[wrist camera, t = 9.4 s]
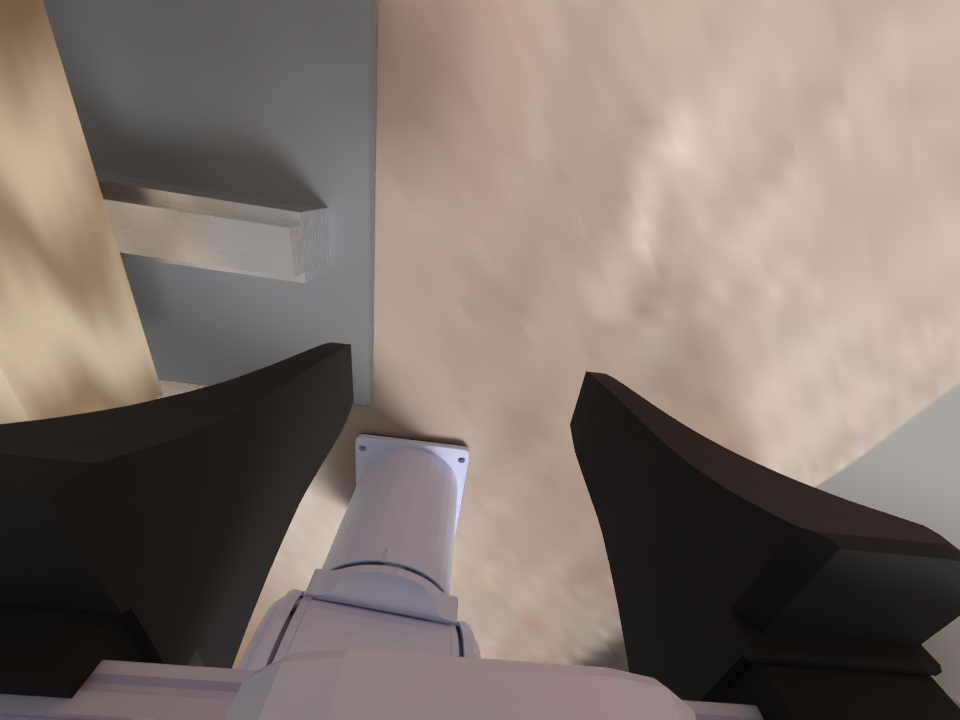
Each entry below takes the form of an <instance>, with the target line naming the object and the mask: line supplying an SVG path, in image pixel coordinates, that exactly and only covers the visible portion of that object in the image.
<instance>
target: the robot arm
mask: <svg viewBox="0 0 960 720" xmlns="http://www.w3.org/2000/svg"><path fill="white" fill-rule="evenodd" d="M353 402H354V395H353V375H352V354H351V344H342V343H333V342H329V343H325V344H322V345H319V346H317V347H314V348H312V349H309V350H307V351H304V352H302V353H299V354H297V355H294V356H292V357H289V358H287V359H285V360H282V361H280V362H277V363H275V364H272V365H270V366H267V367H264V368H261V369H259V370H256V371H253V372H251V373H248V374H245V375H242V376H240V377H237V378H234V379H231V380H228V381H225V382H222V383H218V384H215V385H212V386H208V387H204V388H201V389H197V390H194V391H190V392H186V393H182V394H178V395H174V396H169V397H165V398H160V399H156V400H151V401H147V402H142V403H138V404H133V405H128V406H123V407H117V408H112V409H106V410H100V411H95V412H88V413H82V414H75V415H69V416H63V417H55V418H48V419H41V420H32V421H23V422H15V423H6V424H0V720H960V697H957V698H953V699H951V698H950V697H949V696H948V695H947V694H946V693H945V692H944V690H943V689H942V688H941V687H940V686H939V685H938V684H937V683H936V682H935V680H934V679H933V678H932V677H931V676H930V675H933V676H936V675H938V674H939V673H941V672H942V671H941V667H940V664H939V663H938V662H937V661H936V660H935V659H934V658H933V657H932V656H931V655H930V654H929V653H928V652H927V651H926V649H924V647H923V646H922V645H921V644H922V643H923V642H925V641H926V640H927V639H929V638H930V637H932V636H933V635H934V634H936V633H937V632H938V631H940V630H941V629H942V628H944V627H945V626H946V625H948V624H949V623H950V622H952V621H953V620H954V619H956V618H957V617H958V616H960V550H959V549H957V548H956V547H955V546H953V545H952V544H951V543H950V542H948V541H947V540H946V539H944V538H943V537H942V536H941V535H939V534H938V533H936V532H934V531H932V530H931V529H929V528H927V527H925V526H923V525H920V524H917V523H914V522H911V521H908V520H905V519H902V518H899V517H896V516H893V515H890V514H887V513H884V512H881V511H878V510H875V509H872V508H869V507H866V506H863V505H860V504H857V503H854V502H851V501H848V500H846V499H843V498H840V497H837V496H835V495H832V494H829V493H827V492H824V491H822V490H819V489H817V488H814V487H811V486H809V485H806V484H804V483H801V482H799V481H796V480H794V479H792V478H789V477H787V476H784V475H782V474H780V473H777V472H775V471H773V470H771V469H768V468H766V467H764V466H762V465H760V464H757V463H755V462H753V461H751V460H749V459H746V458H744V457H742V456H740V455H738V454H736V453H734V452H732V451H730V450H728V449H726V448H724V447H723V446H721V445H719V444H717V443H715V442H713V441H711V440H709V439H708V438H706V437H704V436H702V435H700V434H699V433H697V432H695V431H693V430H692V429H690V428H689V427H687V426H685V425H684V424H682V423H680V422H679V421H677V420H676V419H674V418H672V417H671V416H669V415H668V414H666V413H665V412H663V411H662V410H660V409H659V408H657V407H656V406H654V405H653V404H651V403H650V402H648V401H647V400H645V399H644V398H643V397H641V396H640V395H638V394H637V393H635V392H634V391H632V390H631V389H629V388H628V387H627V386H625V385H624V384H622V383H621V382H619V381H618V380H616V379H614V378H613V377H611V376H609V375H607V374H603V373H594V372H586V374H585V377H584V380H583V384H582V387H581V390H580V394H579V397H578V400H577V404H576V407H575V410H574V414H573V417H572V420H571V424H570V427H571V432H572V438H573V444H574V449H575V453H576V456H577V459H578V462H579V465H580V468H581V471H582V474H583V477H584V480H585V483H586V485H587V488H588V491H589V494H590V497H591V500H592V503H593V506H594V508H595V511H596V514H597V517H598V520H599V524H600V527H601V530H602V534H603V538H604V543H605V547H606V551H607V556H608V560H609V564H610V569H611V574H612V579H613V584H614V588H615V593H616V598H617V603H618V608H619V614H620V620H621V625H622V631H623V637H624V642H625V648H626V654H627V660H628V667H629V672H624V671H620V670H616V669H611V668H604V667H590V666H577V665H563V664H549V663H536V662H522V661H509V660H495V659H481V656H480V650H479V647H478V643H477V641H476V639H475V637H474V636H473V632H472V630H471V628H470V626H469V624H467V623H466V622H462V621H457V608H458V598H457V597H455V596H451V595H449V594H450V582H451V569H452V557H453V544H454V536H455V534H456V528H457V522H458V517H459V511H460V505H461V500H462V494H463V488H464V483H465V477H466V471H467V466H468V460H469V449H468V448H467V447H465V446H458V445H449V444H441V443H433V442H425V441H416V440H408V439H400V438H392V437H383V436H375V435H367V434H360V435H358V436H357V438H356V441H355V456H356V488H355V491H354V493H353V495H352V498H351V500H350V503H349V505H348V507H347V510H346V512H345V515H344V517H343V519H342V522H341V524H340V527H339V529H338V532H337V534H336V536H335V539H334V541H333V544H332V546H331V548H330V551H329V553H328V556H327V558H326V560H325V563H324V565H323V568H322V569H316V570H315V571H314V574H313V576H312V578H311V581H310V583H309V585H308V588H307V590H306V592H305V591H301V590H297V589H292V590H291V591H289V592H288V593H287V594H286V595H285V596H283V597H282V598H280V599H279V600H277V601H276V602H275V603H274V604H273V605H272V606H271V607H270V608H269V610H268V611H267V613H266V614H265V616H264V617H263V619H262V621H261V622H260V624H259V626H258V628H257V629H256V631H255V633H254V635H253V637H252V639H251V641H250V643H249V645H248V647H247V649H246V651H245V653H244V655H243V657H242V659H241V661H240V663H239V665H238V668H237V669H232V666H233V663H234V661H235V658H236V655H237V653H238V650H239V647H240V645H241V642H242V639H243V636H244V634H245V631H246V628H247V626H248V623H249V621H250V618H251V616H252V613H253V611H254V608H255V606H256V603H257V601H258V598H259V596H260V593H261V591H262V588H263V586H264V583H265V581H266V578H267V576H268V573H269V571H270V569H271V566H272V564H273V562H274V559H275V557H276V555H277V552H278V550H279V548H280V545H281V543H282V541H283V538H284V536H285V534H286V532H287V530H288V527H289V525H290V523H291V521H292V519H293V516H294V514H295V512H296V510H297V508H298V505H299V503H300V502H301V500H302V498H303V496H304V494H305V492H306V490H307V489H308V487H309V485H310V483H311V482H312V480H313V478H314V477H315V475H316V473H317V472H318V470H319V468H320V467H321V465H322V463H323V462H324V460H325V458H326V457H327V455H328V453H329V452H330V450H331V448H332V446H333V445H334V443H335V441H336V440H337V438H338V436H339V434H340V433H341V431H342V429H343V427H344V425H345V422H346V420H347V418H348V415H349V413H350V410H351V407H352V405H353ZM362 446H365V447H366V448H364V447H362ZM461 457H462V458H464V459H459V458H461ZM304 594H305V595H304Z"/></svg>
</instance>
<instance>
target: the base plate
mask: <svg viewBox="0 0 960 720" xmlns="http://www.w3.org/2000/svg"><path fill="white" fill-rule="evenodd" d="M43 3H44V6H45V9H46V13H47V16H48V19H49V23H50V26H51V29H52V32H53V36H54V39H55V42H56V46H57V49H58V52H59V55H60V59H61V62H62V65H63V68H64V72H65V75H66V78H67V82H68V85H69V88H70V91H71V95H72V98H73V101H74V105H75V108H76V111H77V114H78V118H79V121H80V124H81V128H82V131H83V134H84V137H85V141H86V144H87V147H88V150H89V154H90V157H91V160H92V164H93V167H94V170H95V171H100V172H107V173H113V174H119V175H126V176H132V177H138V178H144V179H151V180H157V181H163V182H170V183H176V184H182V185H189V186H195V187H201V188H207V189H214V190H220V191H226V192H233V193H239V194H245V195H251V196H258V197H264V198H270V199H277V200H283V201H289V202H296V203H302V204H308V205H314V206H321V207H327V208H328V211H329V235H330V258H331V269H330V270H328V271H326V272H324V273H323V274H321V275H319V276H317V277H316V278H314V279H312V280H310V281H309V282H307V283H300V282H293V281H286V280H279V279H272V278H265V277H259V276H252V275H245V274H238V273H231V272H224V271H217V270H210V269H204V268H197V267H190V266H183V265H176V264H169V263H162V262H155V261H148V260H142V259H135V258H128V257H121V259H122V262H123V265H124V269H125V272H126V275H127V278H128V282H129V285H130V288H131V292H132V295H133V298H134V301H135V305H136V308H137V311H138V314H139V318H140V321H141V324H142V328H143V331H144V334H145V337H146V341H147V344H148V347H149V351H150V354H151V357H152V360H153V364H154V367H155V370H156V374H157V377H158V379H160V380H168V381H176V382H184V383H192V384H200V385H208V386H212V385H215V384H218V383H222V382H225V381H228V380H231V379H234V378H237V377H240V376H242V375H245V374H248V373H251V372H253V371H256V370H259V369H261V368H264V367H267V366H270V365H272V364H275V363H277V362H280V361H282V360H285V359H287V358H289V357H292V356H294V355H297V354H299V353H302V352H304V351H307V350H309V349H312V348H314V347H317V346H319V345H322V344H325V343H329V342H333V343H342V344H351V354H352V375H353V395H354V402H353V404H358V405H366V406H368V405H369V403H370V401H371V399H372V397H373V324H374V248H375V171H376V94H377V17H378V0H43Z"/></svg>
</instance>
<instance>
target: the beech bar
mask: <svg viewBox="0 0 960 720" xmlns="http://www.w3.org/2000/svg"><path fill="white" fill-rule="evenodd" d="M161 395H163V393H162V390H161V387H160V383H159V380H158V377H157V374H156V370H155V367H154V364H153V360H152V357H151V354H150V351H149V347H148V344H147V341H146V337H145V334H144V331H143V328H142V324H141V321H140V318H139V314H138V311H137V308H136V305H135V301H134V298H133V295H132V292H131V288H130V285H129V282H128V278H127V275H126V272H125V269H124V265H123V262H122V259H121V255H120V252H119V249H118V246H117V242H116V239H115V236H114V232H113V229H112V226H111V223H110V219H109V216H108V213H107V210H106V206H105V203H104V200H103V196H102V193H101V190H100V187H99V183H98V180H97V177H96V173H95V170H94V167H93V164H92V160H91V157H90V154H89V150H88V147H87V144H86V141H85V137H84V134H83V131H82V128H81V124H80V121H79V118H78V114H77V111H76V108H75V105H74V101H73V98H72V95H71V91H70V88H69V85H68V82H67V78H66V75H65V72H64V68H63V65H62V62H61V59H60V55H59V52H58V49H57V46H56V42H55V39H54V36H53V32H52V29H51V26H50V23H49V19H48V16H47V13H46V9H45V6H44V3H43V0H0V424H6V423H15V422H23V421H32V420H41V419H48V418H55V417H63V416H69V415H75V414H82V413H88V412H95V411H100V410H106V409H112V408H117V407H123V406H128V405H133V404H138V403H142V402H147V401H151V400H155V399H157V398H158V397H160V396H161Z"/></svg>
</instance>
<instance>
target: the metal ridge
mask: <svg viewBox="0 0 960 720" xmlns="http://www.w3.org/2000/svg"><path fill="white" fill-rule="evenodd" d="M95 173H96V177H97V180H98V183H99V187H100V190H101V193H102V196H103V200H104V203H105V206H106V210H107V213H108V216H109V219H110V223H111V226H112V229H113V232H114V236H115V239H116V242H117V246H118V249H119V252H120V255H121V257H128V258H135V259H142V260H148V261H155V262H162V263H169V264H176V265H183V266H190V267H197V268H204V269H210V270H217V271H224V272H231V273H238V274H245V275H252V276H259V277H265V278H272V279H279V280H286V281H293V282H300V283H307V282H309V281H310V280H312V279H314V278H316V277H317V276H319V275H321V274H323V273H324V272H326V271H328V270H330V269H331V258H330V235H329V211H328V208H327V207H321V206H314V205H308V204H302V203H296V202H289V201H283V200H277V199H270V198H264V197H258V196H251V195H245V194H239V193H233V192H226V191H220V190H214V189H207V188H201V187H195V186H189V185H182V184H176V183H170V182H163V181H157V180H151V179H144V178H138V177H132V176H126V175H119V174H113V173H107V172H100V171H95Z"/></svg>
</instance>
